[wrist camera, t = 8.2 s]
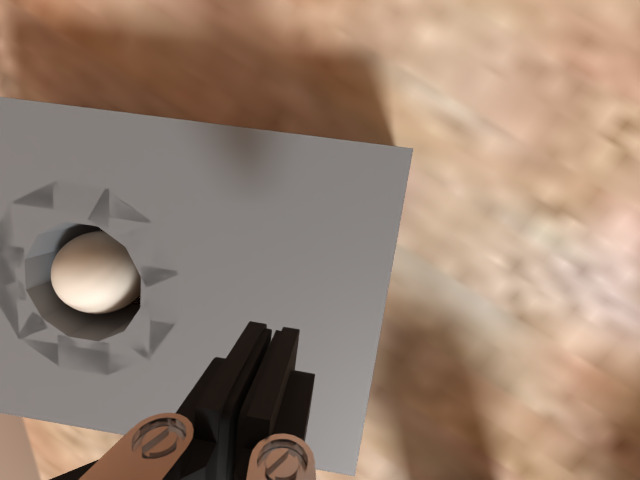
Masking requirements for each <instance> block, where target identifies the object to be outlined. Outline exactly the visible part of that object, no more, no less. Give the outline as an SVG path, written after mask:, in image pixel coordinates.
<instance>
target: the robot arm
mask: <svg viewBox="0 0 640 480" xmlns="http://www.w3.org/2000/svg"><path fill="white" fill-rule="evenodd" d="M299 333H300V329H295V328H289V327H283V328H282V331H279V330H276V331H275V334H274V336H273V338H272V340H271V336H272V329H267V325H266V324H264V323H258V322H252V321H250V322H249V323H248V324H247V326H246V328H245V329H244V331H243V332H242V334H241V335H240V337H239V339H238V340H237V342H236V343H235V345H234V346H233V348H232V350H231V351H230V353H229V354H228V356H227V357H226V358H220V357H215V358H214V359H213V360H212V361H211V363H210V364H209V366H208V367H207V369H206V370H205V371H204V373H203V374H202V376H201V377H200V379H199V380H198V381H197V383H196V384H195V386H194V387H193V389H192V390H191V392H190V393H189V394H188V396H187V397H186V399H185V400H184V402H183V403H182V404H181V406H180V407H179V409H178V410H177V412H176V413H161V414H157V415H153V416H150V417H148V418H146V419H144V420H142V421H140V422H139V423H138V424H136V425H135V426H134V427H133V428H132V429H131V430H129V431H128V432H127V433H126V434H125V435H124V436H123V437H122V438H121V439H120V440H119V441H118V442H117V443H116V444H115V445H114V446H113V447H112V448H111V449H110V450H109V451H108V452H107V453H106V454H105V455H103V456H102V457H101V458H100V459H99V460H97V461H94V462H92V463H89V464H87V465H84V466H82V467H79V468H77V469H75V470H72V471H70V472H67V473H65V474H62V475H60V476H57V477H55V478H52V479H50V480H316V473H315V459H314V455H313V452H312V450H311V449H310V447H309V445H308V444H306V443H305V438H306V432H307V426H308V420H309V414H310V408H311V401H312V394H313V387H314V380H315V374H313V373H308V372H302V371H296V370H295V365H296V357H297V349H298V341H299Z"/></svg>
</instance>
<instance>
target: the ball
mask: <svg viewBox="0 0 640 480" xmlns="http://www.w3.org/2000/svg"><path fill="white" fill-rule="evenodd" d="M51 282H52V286H53V288H54V290H55V292H56V294H57V295H58V297H59V298H60V299H61V300H62V301H63V302H64V303H66V304H67V305H69V306H70V307H72V308H74V309H76V310H78V311H82V312H85V313H92V314H102V313H109V312H113V311H117V310H119V309H122V308H124V307H126V306H127V305H129V304H130V303H132V302H133V301H134V300H135V299H136V298H137V297H138V296H139V295H140V294H141V276H140V274H139V272H138V270H137V268H136V266H135V264H134V263H133V261H132V259H131V257H130V255H129V253H128V251H127V249H126V247H125V246H124V245H122V244H121V243H119V242H118V241H117V240H115V239H114V238H113V237H111V236H110V235H109V234H107V233H106V232H105V231H95V232H89V233H86V234H83V235H80V236H78V237H76V238H74V239H72V240H71V241H69V242H68V243H66V244H65V245H64V246H63V247H62V248H61V249H60V251H59V252H58V253H57V255H56V257H55V259H54V261H53V263H52V267H51Z"/></svg>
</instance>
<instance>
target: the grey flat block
mask: <svg viewBox="0 0 640 480" xmlns="http://www.w3.org/2000/svg"><path fill="white" fill-rule="evenodd" d="M412 152H413V148H405V147H397V146H389V145H381V144H373V143H365V142H357V141H349V140H341V139H333V138H325V137H317V136H309V135H301V134H293V133H285V132H277V131H269V130H262V129H254V128H246V127H238V126H230V125H222V124H214V123H206V122H198V121H190V120H182V119H174V118H166V117H158V116H150V115H142V114H134V113H126V112H118V111H110V110H102V109H94V108H86V107H78V106H70V105H62V104H54V103H46V102H38V101H30V100H22V99H14V98H6V97H0V413H4V414H10V415H15V416H20V417H26V418H31V419H37V420H43V421H48V422H54V423H59V424H65V425H71V426H76V427H82V428H87V429H93V430H99V431H104V432H110V433H115V434H121V435H125V434H126V433H127V432H128V431H129V430H131V429H132V428H133V427H134V426H135V425H136V424H138V423H139V422H140V421H142V420H144V419H146V418H148V417H150V416H153V415H157V414H161V413H176V412H177V410H178V409H179V407H180V406H181V404H182V403H183V402H184V400H185V399H186V397H187V396H188V394H189V393H190V392H191V390H192V389H193V387H194V386H195V384H196V383H197V381H198V380H199V379H200V377H201V376H202V374H203V373H204V371H205V370H206V369H207V367H208V366H209V364H210V363H211V361H212V360H213V359H214V358H215V357H220V358H226V357H227V356H228V354H229V353H230V351H231V350H232V348H233V346H234V345H235V343H236V342H237V340H238V339H239V337H240V335H241V334H242V332H243V331H244V329H245V328H246V326H247V324H248V323H249V322H250V321H252V322H258V323H264V324H266V325H267V329H272V336H271V340H272V338H273V336H274V334H275V331H276V330H279V331H282V328H283V327H289V328H295V329H300V333H299V341H298V349H297V357H296V365H295V370H296V371H302V372H308V373H313V374H315V380H314V387H313V394H312V401H311V408H310V414H309V420H308V426H307V432H306V438H305V443H306V444H308V445H309V447H310V449H311V450H312V452H313V455H314V459H315V469H317V470H322V471H328V472H334V473H339V474H345V475H350V476H355V472H356V466H357V461H358V455H359V450H360V444H361V438H362V433H363V427H364V422H365V416H366V410H367V405H368V399H369V393H370V388H371V382H372V377H373V371H374V365H375V360H376V354H377V349H378V343H379V337H380V332H381V326H382V321H383V315H384V309H385V304H386V298H387V293H388V287H389V281H390V276H391V270H392V265H393V259H394V253H395V248H396V242H397V237H398V231H399V225H400V220H401V214H402V208H403V203H404V197H405V192H406V186H407V180H408V175H409V169H410V164H411V158H412ZM101 229H102V230H103V231H105V232H106V233H107V234H109V235H110V236H111V237H113V238H114V239H115V240H117V241H118V242H119V243H121V244H122V245H124V246H125V247H126V249H127V251H128V253H129V255H130V257H131V259H132V261H133V263H134V264H135V266H136V268H137V270H138V272H139V274H140V276H141V300H140V305H138V304H131V303H130V304H129V305H127V306H126V307H124V308H122V309H119V310H117V311H113V312H109V313H102V314H92V313H85V312H82V311H78V310H76V309H74V308H72V307H70V306H69V305H67V304H66V303H64V302H63V301H62V300H61V299H60V298H59V297H58V295H57V294H56V292H55V290H54V288H53V286H52V282H51V267H52V263H53V261H54V259H55V257H56V255H57V253H58V252H59V251H60V249H61V248H62V247H63V246H64V245H65V244H66V243H68V242H69V241H71V240H72V239H74V238H76V237H78V236H80V235H83V234H86V233H89V232H95V231H100V230H101Z"/></svg>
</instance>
